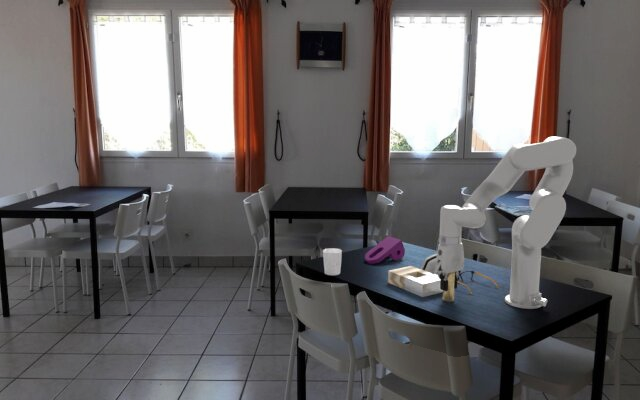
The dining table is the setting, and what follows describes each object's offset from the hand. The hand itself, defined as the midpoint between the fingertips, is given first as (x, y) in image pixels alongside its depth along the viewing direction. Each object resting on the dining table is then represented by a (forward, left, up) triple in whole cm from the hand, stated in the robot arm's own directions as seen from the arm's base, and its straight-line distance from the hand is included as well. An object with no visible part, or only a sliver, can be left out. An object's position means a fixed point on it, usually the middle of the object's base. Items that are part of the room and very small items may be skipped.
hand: (448, 288), depth 189 cm
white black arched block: (+26, -20, -5) cm, 33 cm away
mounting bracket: (+54, -13, -5) cm, 56 cm away
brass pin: (0, 0, -4) cm, 4 cm away
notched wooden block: (+22, 0, -4) cm, 22 cm away
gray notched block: (+12, 0, -4) cm, 13 cm away
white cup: (+50, +18, -5) cm, 53 cm away
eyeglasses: (+6, -19, -5) cm, 20 cm away
